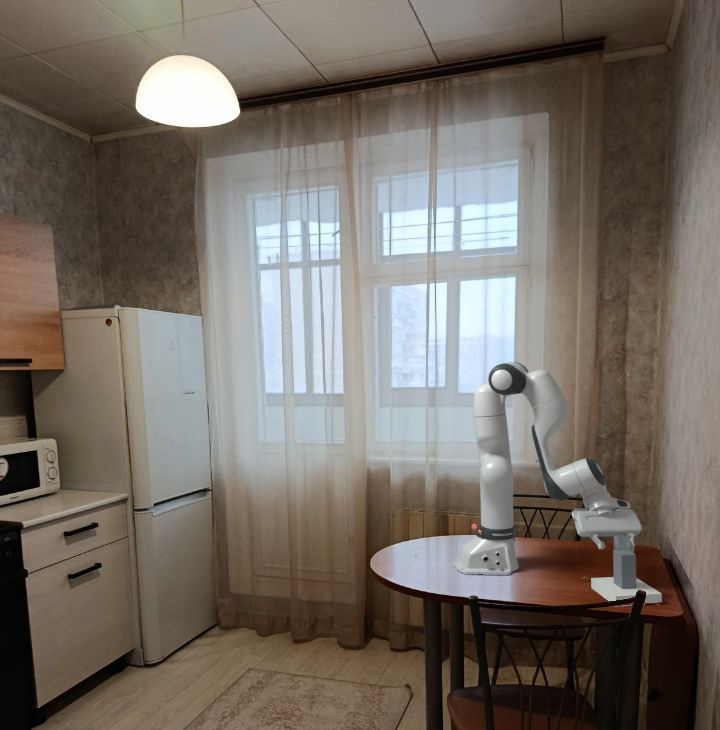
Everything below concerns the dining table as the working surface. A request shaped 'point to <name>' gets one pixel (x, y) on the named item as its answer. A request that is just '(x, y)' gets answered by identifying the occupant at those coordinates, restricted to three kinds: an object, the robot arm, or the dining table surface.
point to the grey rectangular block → (624, 569)
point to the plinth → (623, 590)
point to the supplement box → (622, 543)
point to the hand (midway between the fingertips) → (617, 547)
